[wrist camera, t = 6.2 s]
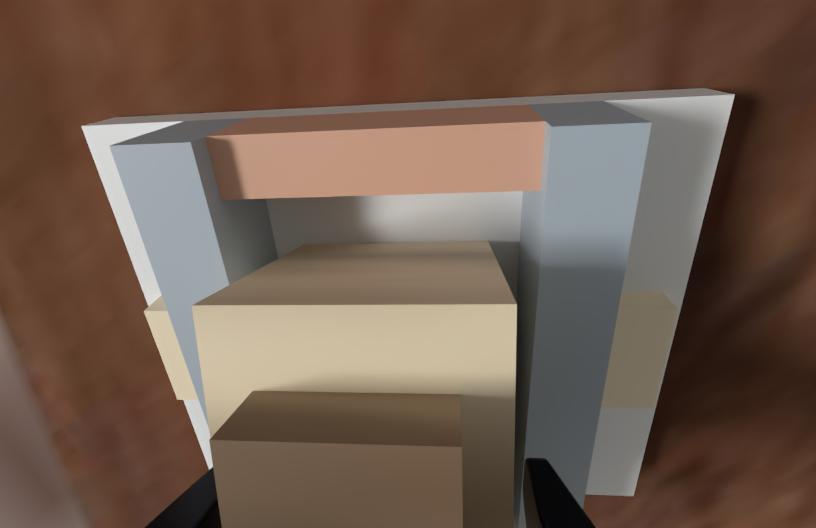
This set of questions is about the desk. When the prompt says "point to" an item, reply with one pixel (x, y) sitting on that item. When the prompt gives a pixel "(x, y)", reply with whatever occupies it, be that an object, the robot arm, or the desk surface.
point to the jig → (448, 234)
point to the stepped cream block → (363, 388)
